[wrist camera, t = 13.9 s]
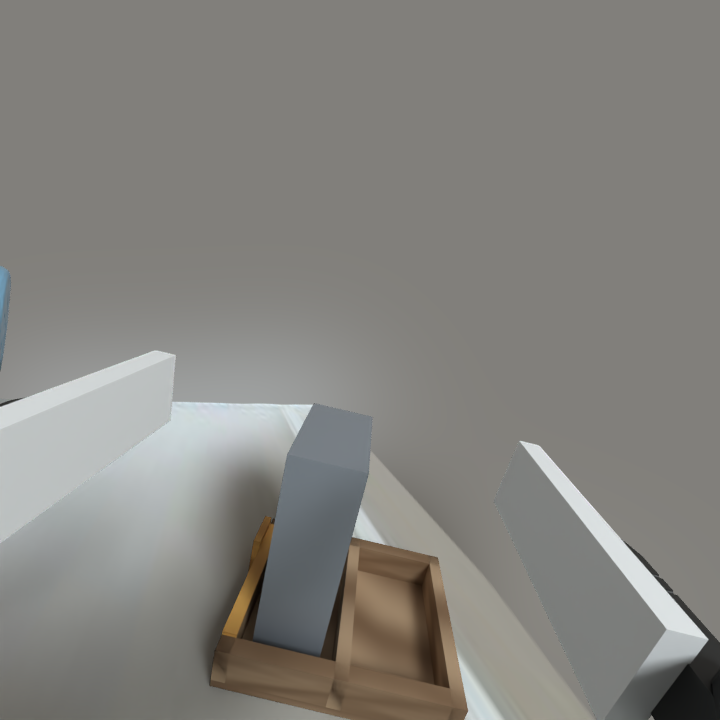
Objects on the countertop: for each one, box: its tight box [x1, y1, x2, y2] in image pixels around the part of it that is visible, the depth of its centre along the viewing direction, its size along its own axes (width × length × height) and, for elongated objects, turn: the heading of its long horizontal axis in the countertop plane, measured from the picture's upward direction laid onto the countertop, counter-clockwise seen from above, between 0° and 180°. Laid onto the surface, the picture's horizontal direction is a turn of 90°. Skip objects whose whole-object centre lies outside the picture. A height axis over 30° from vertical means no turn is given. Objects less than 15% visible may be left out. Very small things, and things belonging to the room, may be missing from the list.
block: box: [252, 403, 372, 658], centre depth 26 cm, size 8×5×17 cm, turn 176°
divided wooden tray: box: [210, 516, 468, 720], centre depth 28 cm, size 12×18×4 cm
